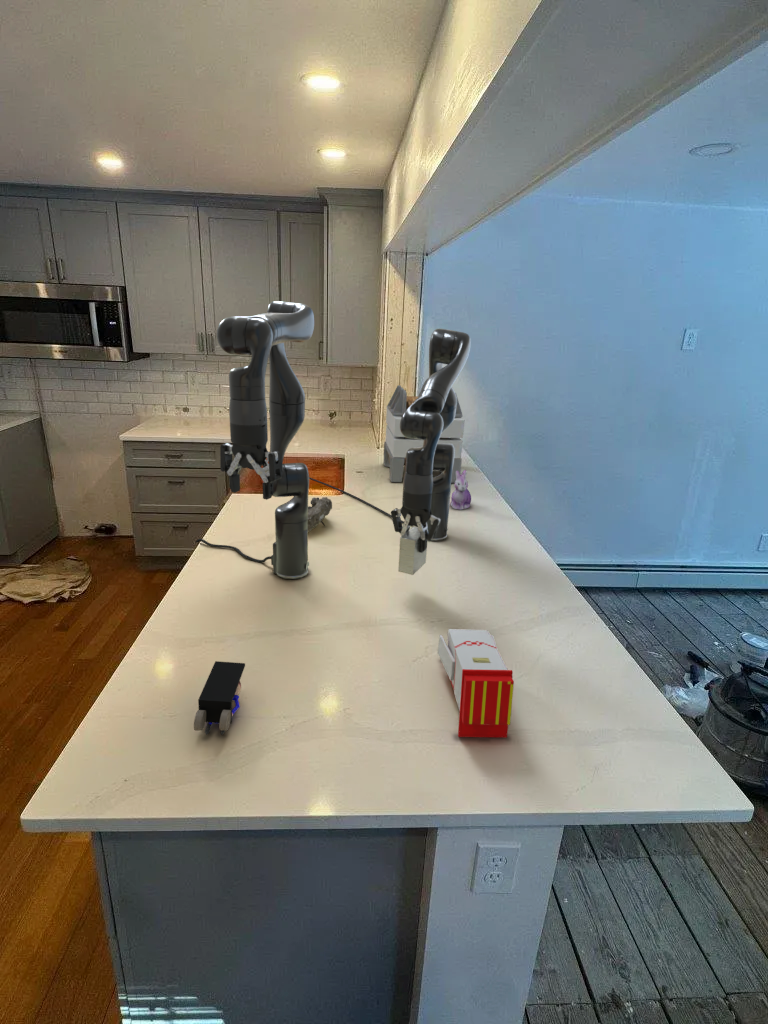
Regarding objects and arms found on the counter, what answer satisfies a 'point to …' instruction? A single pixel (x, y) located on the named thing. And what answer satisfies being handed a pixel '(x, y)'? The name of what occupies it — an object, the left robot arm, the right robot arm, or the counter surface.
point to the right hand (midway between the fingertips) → (413, 549)
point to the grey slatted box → (400, 444)
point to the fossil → (318, 511)
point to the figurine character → (219, 696)
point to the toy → (478, 682)
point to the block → (411, 552)
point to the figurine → (461, 492)
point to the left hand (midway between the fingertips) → (251, 495)
